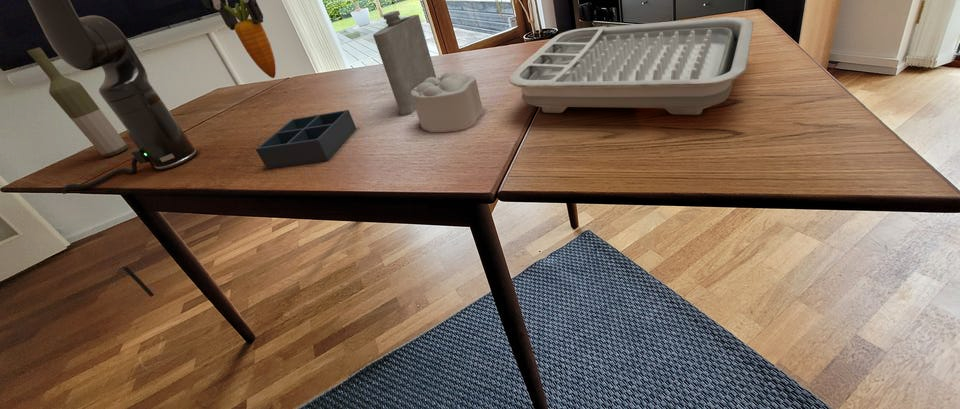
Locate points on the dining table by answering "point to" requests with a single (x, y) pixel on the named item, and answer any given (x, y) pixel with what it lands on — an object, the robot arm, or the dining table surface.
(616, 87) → the dish rack
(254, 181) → the dining table surface
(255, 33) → the carrot
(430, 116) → the lumpy-topped squat cylinder
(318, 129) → the four-compartment tray
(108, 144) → the bottle
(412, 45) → the hip flask
